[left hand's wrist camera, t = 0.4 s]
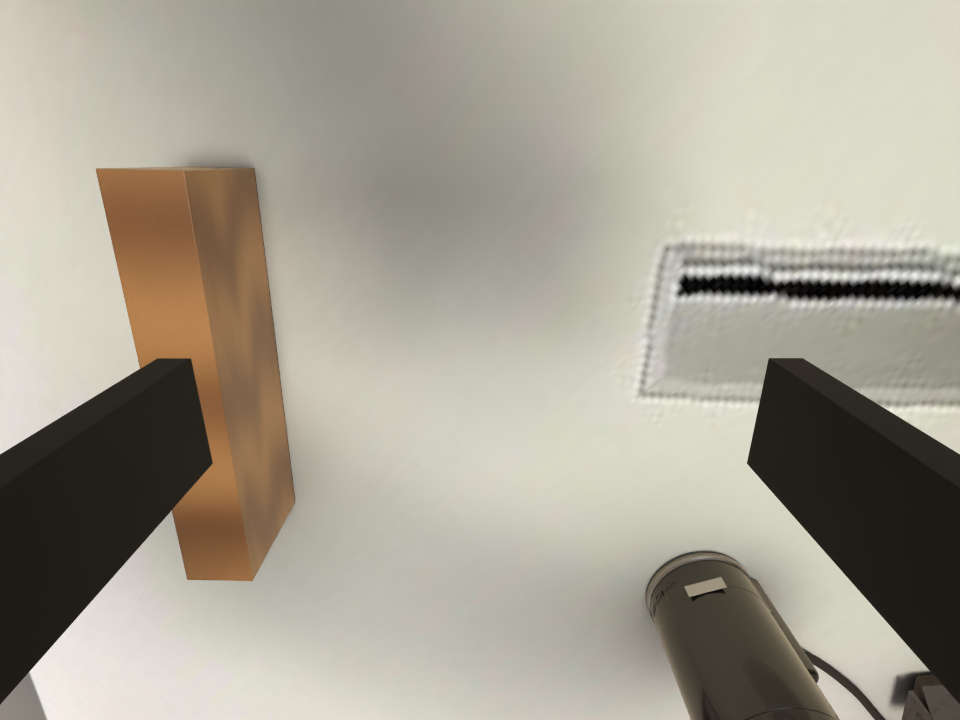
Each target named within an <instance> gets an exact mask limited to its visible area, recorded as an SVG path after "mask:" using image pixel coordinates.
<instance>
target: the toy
mask: <svg viewBox="0 0 960 720" xmlns="http://www.w3.org/2000/svg"><path fill="white" fill-rule="evenodd" d="M902 720H960V704H959V703H958V702H957V701H956V700H955V698H954V697H953V696H952V695H951V694H950V693H949V692H948V691H947V689H946V688H945V687H944V686H943V685H942V684H941V683H940V681H939V680H938V679H937V678H936V677H935V676H934V675H933V674H932V675H920V676H917V678H916V680H915V684H914V688H913V690H910V691H909V692H908V696H907V700H906V704H905V708H904V712H903V716H902Z"/></svg>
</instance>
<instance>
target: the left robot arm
mask: <svg viewBox="0 0 960 720" xmlns="http://www.w3.org/2000/svg"><path fill="white" fill-rule="evenodd" d="M212 464H213V461H212V457H211V452H210V447H209V442H208V437H207V433H206V428H205V423H204V418H203V413H202V408H201V404H200V399H199V394H198V389H197V384H196V380H195V375H194V370H193V365H192V360H191V358H157V359H156V360H154V361H152V362H151V363H149V364H147V365H146V366H144V367H142V368H141V369H139V370H138V371H136V372H134V373H133V374H131V375H129V376H128V377H126V378H125V379H123V380H121V381H120V382H118V383H116V384H115V385H113V386H111V387H110V388H108V389H107V390H105V391H103V392H102V393H100V394H98V395H97V396H95V397H93V398H92V399H90V400H89V401H87V402H85V403H84V404H82V405H80V406H79V407H77V408H76V409H74V410H72V411H71V412H69V413H67V414H66V415H64V416H62V417H61V418H59V419H58V420H56V421H54V422H53V423H51V424H49V425H48V426H46V427H45V428H43V429H41V430H40V431H38V432H36V433H35V434H33V435H31V436H30V437H28V438H27V439H25V440H23V441H22V442H20V443H18V444H17V445H15V446H13V447H12V448H10V449H9V450H7V451H5V452H4V453H2V454H0V704H1V703H2V702H3V701H4V700H5V698H6V697H7V696H8V695H9V694H10V693H11V692H12V691H13V689H14V688H15V687H16V686H17V685H18V684H19V683H20V681H21V680H22V679H23V678H24V677H25V676H26V675H27V674H28V672H29V671H30V670H31V669H32V668H33V667H34V666H35V664H36V663H37V662H38V661H39V660H40V659H41V658H42V657H43V655H44V654H45V653H46V652H47V651H48V650H49V649H50V647H51V646H52V645H53V644H54V643H55V642H56V641H57V640H58V638H59V637H60V636H61V635H62V634H63V633H64V632H65V630H66V629H67V628H68V627H69V626H70V625H71V624H72V623H73V621H74V620H75V619H76V618H77V617H78V616H79V615H80V613H81V612H82V611H83V610H84V609H85V608H86V607H87V606H88V604H89V603H90V602H91V601H92V600H93V599H94V598H95V596H96V595H97V594H98V593H99V592H100V591H101V590H102V589H103V587H104V586H105V585H106V584H107V583H108V582H109V581H110V579H111V578H112V577H113V576H114V575H115V574H116V573H117V572H118V570H119V569H120V568H121V567H122V566H123V565H124V564H125V562H126V561H127V560H128V559H129V558H130V557H131V556H132V555H133V553H134V552H135V551H136V550H137V549H138V548H139V547H140V545H141V544H142V543H143V542H144V541H145V540H146V539H147V538H148V536H149V535H150V534H151V533H152V532H153V531H154V530H155V528H156V527H157V526H158V525H159V524H160V523H161V522H162V521H163V519H164V518H165V517H166V516H167V515H168V514H169V513H170V511H171V510H172V509H173V508H174V507H175V506H176V505H177V504H178V502H179V501H180V500H181V499H182V498H183V497H184V496H185V495H186V493H187V492H188V491H189V490H190V489H191V488H192V487H193V485H194V484H195V483H196V482H197V481H198V480H199V479H200V478H201V476H202V475H203V474H204V473H205V472H206V471H207V470H208V468H209V467H210V466H211V465H212ZM747 464H748V465H749V466H750V467H751V468H752V470H753V471H754V472H755V473H756V474H757V475H758V476H759V478H760V479H761V480H762V481H763V482H764V483H765V484H766V485H767V487H768V488H769V489H770V490H771V491H772V492H773V493H774V495H775V496H776V497H777V498H778V499H779V500H780V501H781V502H782V504H783V505H784V506H785V507H786V508H787V509H788V510H789V512H790V513H791V514H792V515H793V516H794V517H795V518H796V519H797V521H798V522H799V523H800V524H801V525H802V526H803V527H804V528H805V530H806V531H807V532H808V533H809V534H810V535H811V536H812V538H813V539H814V540H815V541H816V542H817V543H818V544H819V545H820V547H821V548H822V549H823V550H824V551H825V552H826V553H827V555H828V556H829V557H830V558H831V559H832V560H833V561H834V562H835V564H836V565H837V566H838V567H839V568H840V569H841V570H842V572H843V573H844V574H845V575H846V576H847V577H848V578H849V579H850V581H851V582H852V583H853V584H854V585H855V586H856V587H857V589H858V590H859V591H860V592H861V593H862V594H863V595H864V596H865V598H866V599H867V600H868V601H869V602H870V603H871V604H872V606H873V607H874V608H875V609H876V610H877V611H878V612H879V613H880V615H881V616H882V617H883V618H884V619H885V620H886V621H887V623H888V624H889V625H890V626H891V627H892V628H893V629H894V630H895V632H896V633H897V634H898V635H899V636H900V637H901V638H902V640H903V641H904V642H905V643H906V644H907V645H908V646H909V647H910V649H911V650H912V651H913V652H914V653H915V654H916V655H917V657H918V658H919V659H920V660H921V661H922V662H923V663H924V664H925V666H926V667H927V668H928V669H929V670H930V671H931V672H932V674H933V675H934V676H935V677H936V678H937V679H938V680H939V681H940V683H941V684H942V685H943V686H944V687H945V688H946V689H947V691H948V692H949V693H950V694H951V695H952V696H953V697H954V698H955V700H956V701H957V702H958V703H959V704H960V454H958V453H956V452H955V451H953V450H951V449H950V448H948V447H947V446H945V445H943V444H942V443H940V442H938V441H937V440H935V439H933V438H932V437H930V436H929V435H927V434H925V433H924V432H922V431H920V430H919V429H917V428H915V427H914V426H912V425H911V424H909V423H907V422H906V421H904V420H902V419H901V418H899V417H898V416H896V415H894V414H893V413H891V412H889V411H888V410H886V409H884V408H883V407H881V406H880V405H878V404H876V403H875V402H873V401H871V400H870V399H868V398H867V397H865V396H863V395H862V394H860V393H858V392H857V391H855V390H853V389H852V388H850V387H849V386H847V385H845V384H844V383H842V382H840V381H839V380H837V379H835V378H834V377H832V376H831V375H829V374H827V373H826V372H824V371H822V370H821V369H819V368H818V367H816V366H814V365H813V364H811V363H809V362H808V361H806V360H804V359H803V358H769V360H768V365H767V370H766V375H765V380H764V384H763V389H762V394H761V399H760V404H759V408H758V413H757V418H756V423H755V428H754V433H753V437H752V442H751V447H750V452H749V457H748V461H747Z"/></svg>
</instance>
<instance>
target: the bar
mask: <svg viewBox="0 0 960 720" xmlns="http://www.w3.org/2000/svg"><path fill="white" fill-rule="evenodd" d="M96 172H97V177H98V181H99V186H100V190H101V195H102V199H103V204H104V208H105V213H106V217H107V222H108V226H109V230H110V235H111V239H112V244H113V248H114V253H115V257H116V262H117V266H118V271H119V275H120V280H121V284H122V289H123V293H124V298H125V302H126V307H127V311H128V316H129V320H130V325H131V329H132V334H133V338H134V343H135V347H136V351H137V356H138V360H139V365H140V369H141V368H142V367H144V366H146V365H147V364H149V363H151V362H152V361H154V360H156V359H157V358H191V360H192V365H193V370H194V375H195V380H196V384H197V389H198V394H199V399H200V404H201V408H202V413H203V418H204V423H205V428H206V433H207V437H208V442H209V447H210V452H211V457H212V461H213V464H212V465H211V466H210V467H209V468H208V470H207V471H206V472H205V473H204V474H203V475H202V476H201V478H200V479H199V480H198V481H197V482H196V483H195V484H194V485H193V487H192V488H191V489H190V490H189V491H188V492H187V493H186V495H185V496H184V497H183V498H182V499H181V500H180V501H179V502H178V504H177V505H176V506H175V507H174V508H173V509H172V513H173V517H174V522H175V526H176V531H177V535H178V540H179V544H180V549H181V553H182V558H183V562H184V567H185V571H186V576H187V579H188V580H233V581H253V579H254V577H255V575H256V573H257V572H258V570H259V568H260V566H261V564H262V562H263V561H264V559H265V557H266V555H267V553H268V551H269V549H270V548H271V546H272V544H273V542H274V540H275V538H276V537H277V535H278V533H279V531H280V529H281V527H282V525H283V524H284V522H285V520H286V518H287V516H288V514H289V513H290V511H291V509H292V507H293V505H294V503H295V497H294V489H293V481H292V473H291V465H290V456H289V448H288V440H287V432H286V424H285V416H284V408H283V399H282V391H281V383H280V375H279V367H278V359H277V351H276V342H275V334H274V326H273V318H272V310H271V302H270V294H269V285H268V277H267V269H266V261H265V253H264V245H263V237H262V228H261V220H260V212H259V204H258V196H257V188H256V180H255V171H254V168H221V167H151V168H104V169H96Z"/></svg>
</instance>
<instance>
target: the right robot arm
mask: <svg viewBox="0 0 960 720" xmlns="http://www.w3.org/2000/svg"><path fill="white" fill-rule="evenodd" d="M646 603H647V607H648V610H649V613H650V615H651V618H652V619H653V621H654V623H655V625H656V628H657V630H658V633H659V636H660V639H661V641H662V644H663V647H664V650H665V652H666V655H667V658H668V660H669V663H670V666H671V668H672V671H673V674H674V676H675V679H676V682H677V684H678V687H679V689H680V692H681V695H682V697H683V700H684V703H685V705H686V708H687V711H688V713H689V716H690V719H691V720H840V719H839V718H838V716H837V715H836V713H835V712H834V710H833V708H832V707H831V705H830V704H829V702H828V701H827V699H826V698H825V696H824V694H823V693H822V691H821V690H820V688H819V687H818V685H817V684H816V683H817V682H818V679H819V676H818V673H817V671H816V669H815V668H814V666H813V665H815V666H817V667H819V668H820V669H822V670H823V671H825V672H826V673H827V674H829V675H830V676H831V677H833V678H834V679H835V680H837V681H838V682H839V683H840V684H842V685H843V686H844V687H845V688H846V689H847V690H849V691H850V692H851V693H852V694H853V695H854V696H855V697H856V698H857V699H858V700H859V701H860V702H861V703H862V705H863V706H864V707H865V708H866V709H867V711H868V712H869V713H870V714H871V716H872V717H873V718H874V719H875V720H885V719H884V718H883V717H882V716H881V715H880V713H879V712H878V711H877V710H876V709H875V707H874V706H873V705H872V704H871V702H870V701H869V700H868V699H867V698H866V697H865V695H864V694H863V693H862V692H861V691H860V690H858V689H857V688H856V687H855V686H854V685H853V684H852V683H850V682H849V681H848V680H847V679H846V678H845V677H843V676H842V675H841V674H840V673H838V672H837V671H836V670H834V669H833V668H832V667H830V666H829V665H828V664H826V663H825V662H823V661H822V660H820V659H819V658H817V657H815V656H813V655H811V654H809V653H807V652H804V651H803V649H802V648H801V646H800V645H799V643H798V642H797V640H796V639H795V637H794V636H793V634H792V633H791V631H790V630H789V628H788V627H787V625H786V624H785V622H784V621H783V619H782V618H781V616H780V614H779V613H778V611H777V610H776V608H775V607H774V605H773V604H772V602H771V601H770V599H769V598H768V596H767V595H766V593H765V592H764V590H763V589H762V587H761V586H760V584H759V583H758V581H756V580H753V579H750V577H749V575H748V574H747V572H746V571H745V569H744V568H743V567H742V566H741V565H740V564H739V563H738V562H737V561H735V560H733V559H732V558H730V557H727V556H725V555H721V554H717V553H708V552H707V553H694V554H689V555H686V556H682V557H680V558H677V559H675V560H673V561H671V562H670V563H668V564H667V565H665V566H664V567H663V568H662V569H660V570H659V571H658V572H657V573H656V575H655V576H654V577H653V579H652V580H651V582H650V584H649V586H648V589H647V594H646Z"/></svg>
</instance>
